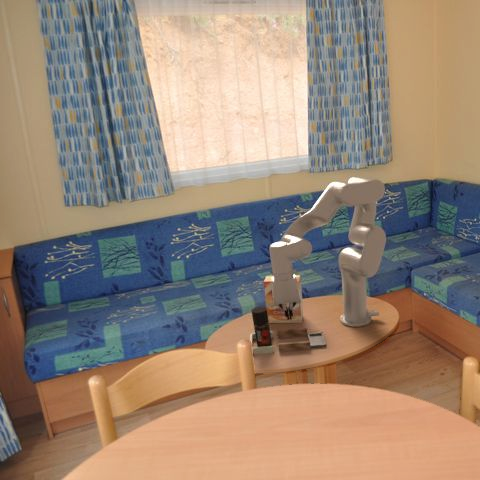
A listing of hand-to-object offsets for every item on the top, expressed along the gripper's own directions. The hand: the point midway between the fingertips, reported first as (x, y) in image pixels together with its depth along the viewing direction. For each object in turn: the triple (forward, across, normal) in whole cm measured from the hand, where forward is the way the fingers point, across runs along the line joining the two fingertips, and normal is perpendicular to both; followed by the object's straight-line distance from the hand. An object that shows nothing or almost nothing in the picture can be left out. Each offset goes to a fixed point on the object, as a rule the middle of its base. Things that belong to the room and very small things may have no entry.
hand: (289, 317), depth 179 cm
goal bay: (+10, +12, +1) cm, 15 cm away
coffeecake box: (+11, +2, -20) cm, 23 cm away
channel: (+11, 0, +1) cm, 11 cm away
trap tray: (+11, -9, +1) cm, 14 cm away
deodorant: (+10, +11, +1) cm, 15 cm away
